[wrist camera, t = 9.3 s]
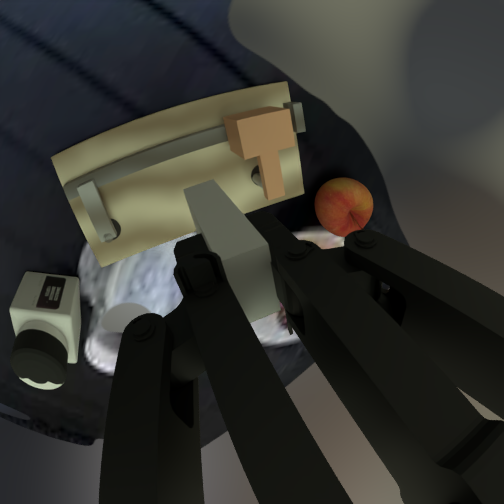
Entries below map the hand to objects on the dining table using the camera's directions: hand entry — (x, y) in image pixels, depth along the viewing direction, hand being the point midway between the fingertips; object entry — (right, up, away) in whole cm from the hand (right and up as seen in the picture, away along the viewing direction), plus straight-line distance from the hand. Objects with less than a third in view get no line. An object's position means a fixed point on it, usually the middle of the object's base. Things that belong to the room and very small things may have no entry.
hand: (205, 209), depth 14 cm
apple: (+12, +6, +25) cm, 28 cm away
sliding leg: (+2, +9, +16) cm, 19 cm away
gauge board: (-5, +7, +17) cm, 19 cm away
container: (-24, -8, +18) cm, 31 cm away
